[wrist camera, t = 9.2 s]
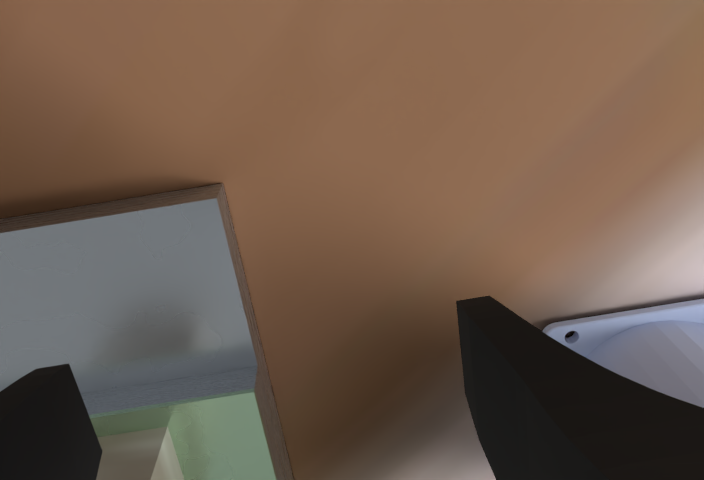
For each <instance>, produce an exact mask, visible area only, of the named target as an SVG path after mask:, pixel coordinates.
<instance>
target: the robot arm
mask: <svg viewBox="0 0 704 480" xmlns="http://www.w3.org/2000/svg"><path fill="white" fill-rule="evenodd" d="M456 304H457V314H458V325H459V335H460V345H461V355H462V365H463V376H464V386H465V394H466V397H467V401H468V404H469V408H470V411H471V415H472V418H473V422H474V425H475V428H476V431H477V435H478V438H479V441H480V443H481V445H482V448H483V450H484V452H485V455H486V457H487V459H488V462H489V464H490V466H491V469H492V471H493V473H494V475H495V478H496V480H704V299H698V300H692V301H686V302H679V303H673V304H667V305H661V306H654V307H648V308H642V309H636V310H630V311H623V312H617V313H611V314H605V315H599V316H592V317H586V318H580V319H574V320H567V321H561V322H555V323H552V324H549V325H548V326H546V327H545V328H544V329H543V331H540V330H539V329H537V328H536V327H534V326H533V325H531V324H530V323H528V322H527V321H525V320H524V319H522V318H521V317H519V316H518V315H517V314H515V313H514V312H512V311H511V310H509V309H508V308H506V307H505V306H504V305H502V304H501V303H499V302H498V301H496V300H495V299H493V298H492V297H490V296H485V297H478V298H472V299H466V300H460V301H456ZM570 331H575V332H574V334H573V335H572V336H571V337H569V338H565V335H566V334H567V333H568V332H570ZM101 456H102V449H101V446H100V443H99V441H98V438H97V435H96V433H95V430H94V428H93V425H92V422H91V420H90V417H89V414H88V412H87V409H86V407H85V404H84V401H83V399H82V396H81V393H80V391H79V388H78V386H77V383H76V380H75V378H74V375H73V373H72V370H71V367H70V365H69V364H62V365H56V366H50V367H44V368H38V369H35V370H33V371H32V372H30V373H28V374H26V375H24V376H23V377H21V378H20V379H18V380H17V381H15V382H14V383H12V384H11V385H9V386H8V387H6V388H5V389H3V390H2V391H0V480H96V478H97V473H98V469H99V464H100V460H101Z"/></svg>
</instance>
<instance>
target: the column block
mask: <svg viewBox="0 0 704 480" xmlns="http://www.w3.org/2000/svg"><path fill="white" fill-rule="evenodd" d="M97 438H98V441H99V443H100V446H101V449H102V456H101V460H100V464H99V469H98V473H97V478H96V480H184V477H183V474H182V471H181V468H180V464H179V461H178V458H177V455H176V452H175V449H174V445H173V442H172V439H171V436H170V433H169V430H168V427H161V428H155V429H148V430H142V431H135V432H129V433H122V434H116V435H109V436H103V437H97Z"/></svg>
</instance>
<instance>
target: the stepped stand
mask: <svg viewBox="0 0 704 480" xmlns="http://www.w3.org/2000/svg"><path fill="white" fill-rule="evenodd" d="M62 364H69V365H70V367H71V370H72V373H73V375H74V378H75V380H76V383H77V386H78V388H79V391H80V393H81V396H82V399H83V401H84V404H85V407H86V409H87V412H88V414H89V417H90V420H91V422H92V425H93V428H94V430H95V433H96V435H97V437H103V436H109V435H116V434H122V433H129V432H135V431H142V430H148V429H155V428H161V427H168V430H169V433H170V436H171V439H172V442H173V445H174V449H175V452H176V455H177V458H178V461H179V464H180V468H181V471H182V474H183V477H184V480H294V478H293V474H292V470H291V465H290V461H289V457H288V453H287V449H286V445H285V440H284V436H283V432H282V428H281V424H280V420H279V415H278V411H277V407H276V403H275V399H274V394H273V390H272V386H271V382H270V378H269V374H268V369H267V365H266V361H265V357H264V353H263V349H262V344H261V340H260V336H259V332H258V328H257V323H256V319H255V315H254V311H253V307H252V303H251V298H250V294H249V290H248V286H247V282H246V278H245V273H244V269H243V265H242V261H241V257H240V252H239V248H238V244H237V240H236V236H235V232H234V227H233V223H232V219H231V215H230V211H229V206H228V202H227V198H226V194H225V190H224V186H223V183H221V184H215V185H209V186H203V187H196V188H190V189H184V190H178V191H172V192H166V193H159V194H153V195H147V196H141V197H135V198H128V199H122V200H116V201H110V202H104V203H98V204H91V205H85V206H79V207H73V208H67V209H60V210H54V211H48V212H42V213H36V214H30V215H23V216H17V217H11V218H5V219H0V391H2V390H3V389H5V388H6V387H8V386H9V385H11V384H12V383H14V382H15V381H17V380H18V379H20V378H21V377H23V376H24V375H26V374H28V373H30V372H32V371H33V370H35V369H38V368H44V367H50V366H56V365H62Z"/></svg>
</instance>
